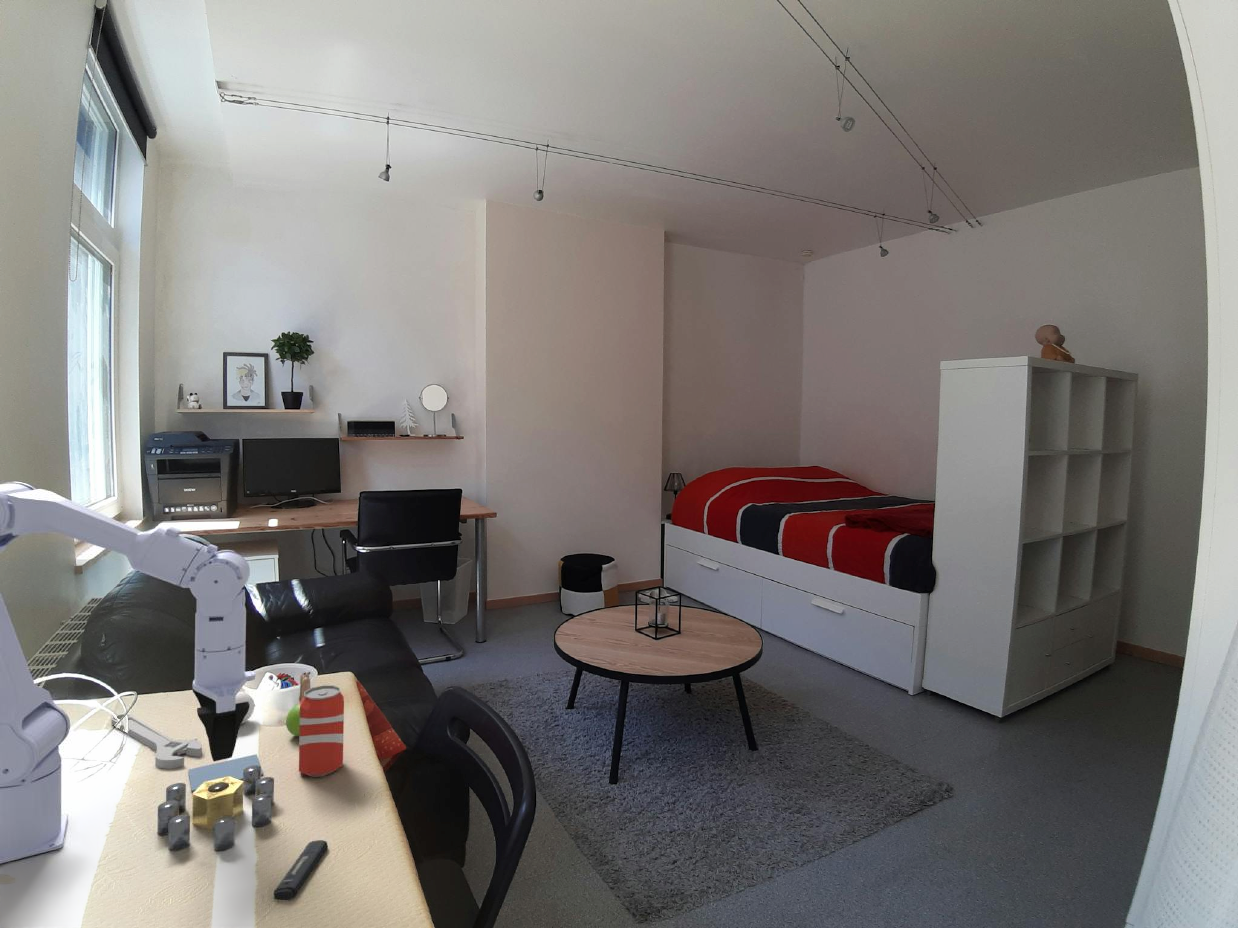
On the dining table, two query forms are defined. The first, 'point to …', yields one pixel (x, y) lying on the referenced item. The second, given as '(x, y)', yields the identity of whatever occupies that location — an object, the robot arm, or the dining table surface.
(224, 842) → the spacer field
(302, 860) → the usb stick
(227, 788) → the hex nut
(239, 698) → the white egg
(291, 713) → the snail figurine
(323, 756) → the beverage can
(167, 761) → the adjustable wrench
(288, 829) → the dining table surface
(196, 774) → the mat
